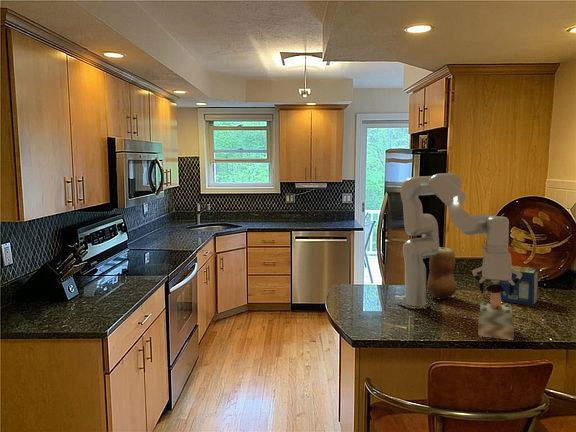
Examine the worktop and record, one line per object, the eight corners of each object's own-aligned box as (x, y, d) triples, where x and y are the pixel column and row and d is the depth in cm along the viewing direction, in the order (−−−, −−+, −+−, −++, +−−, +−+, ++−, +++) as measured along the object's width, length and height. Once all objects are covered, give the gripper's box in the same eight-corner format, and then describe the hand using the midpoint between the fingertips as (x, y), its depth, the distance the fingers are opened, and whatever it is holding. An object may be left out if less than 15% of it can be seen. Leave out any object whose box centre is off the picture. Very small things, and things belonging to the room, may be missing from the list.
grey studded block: (478, 337, 171) (478, 309, 170) (478, 326, 182) (478, 300, 181) (513, 341, 167) (514, 312, 166) (511, 330, 178) (512, 303, 177)
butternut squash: (459, 302, 216) (460, 250, 213) (431, 302, 216) (431, 250, 213) (449, 294, 230) (450, 245, 227) (423, 294, 230) (423, 245, 227)
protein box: (502, 295, 225) (503, 264, 223) (537, 300, 215) (538, 268, 214) (496, 300, 217) (497, 268, 215) (532, 306, 207) (534, 272, 206)
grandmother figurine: (501, 306, 176) (502, 274, 175) (507, 309, 172) (507, 276, 171) (482, 306, 176) (483, 274, 174) (487, 309, 172) (487, 277, 170)
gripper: (472, 249, 171) (471, 294, 173) (523, 252, 164) (522, 298, 166) (472, 246, 178) (471, 289, 180) (522, 248, 171) (520, 293, 173)
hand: (496, 293), depth 173 cm, fingers open, 9 cm apart
